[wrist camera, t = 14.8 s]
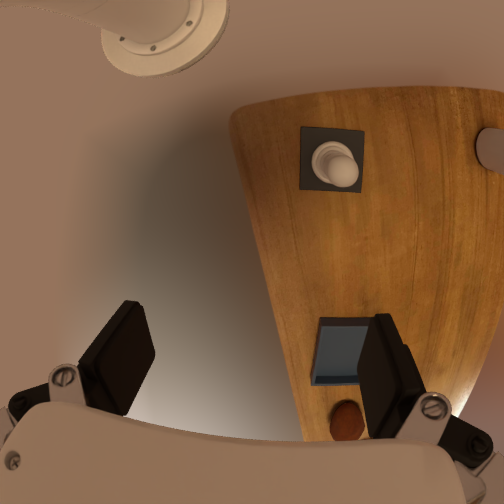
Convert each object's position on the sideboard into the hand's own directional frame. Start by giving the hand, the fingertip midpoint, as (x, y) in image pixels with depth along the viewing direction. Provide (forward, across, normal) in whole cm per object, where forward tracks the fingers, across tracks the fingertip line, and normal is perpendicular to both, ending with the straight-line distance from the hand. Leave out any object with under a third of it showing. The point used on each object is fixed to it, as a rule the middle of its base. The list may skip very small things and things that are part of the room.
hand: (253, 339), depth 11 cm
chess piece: (+28, -7, -4) cm, 29 cm away
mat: (+28, -7, -4) cm, 29 cm away
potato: (+28, -17, +47) cm, 58 cm away
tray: (+28, -13, +27) cm, 41 cm away
